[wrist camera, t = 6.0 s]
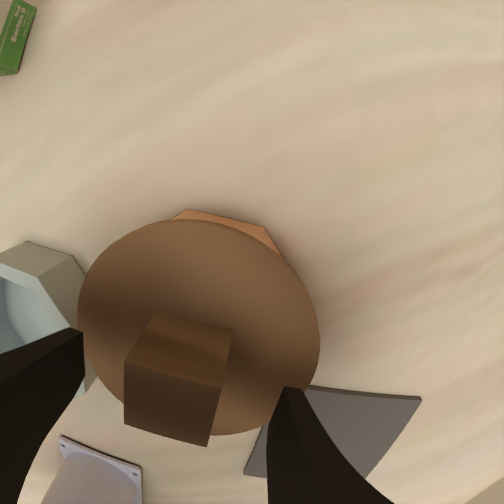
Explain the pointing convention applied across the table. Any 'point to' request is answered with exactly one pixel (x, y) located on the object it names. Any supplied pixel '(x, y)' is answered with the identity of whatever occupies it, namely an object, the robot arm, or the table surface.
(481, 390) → the table surface
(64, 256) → the bowl slate
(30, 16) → the ink box
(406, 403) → the mat
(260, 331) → the lid
